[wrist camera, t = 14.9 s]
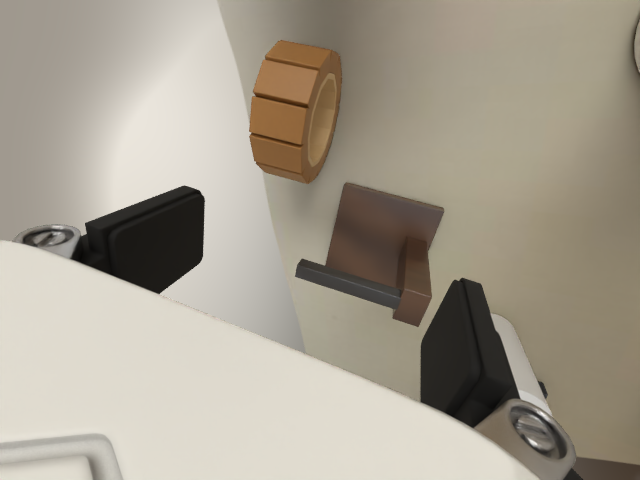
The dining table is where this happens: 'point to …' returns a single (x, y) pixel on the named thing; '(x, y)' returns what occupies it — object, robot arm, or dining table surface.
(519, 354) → the cup
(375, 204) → the hook stand
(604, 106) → the dining table surface
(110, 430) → the robot arm
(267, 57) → the segmented brown cylinder
